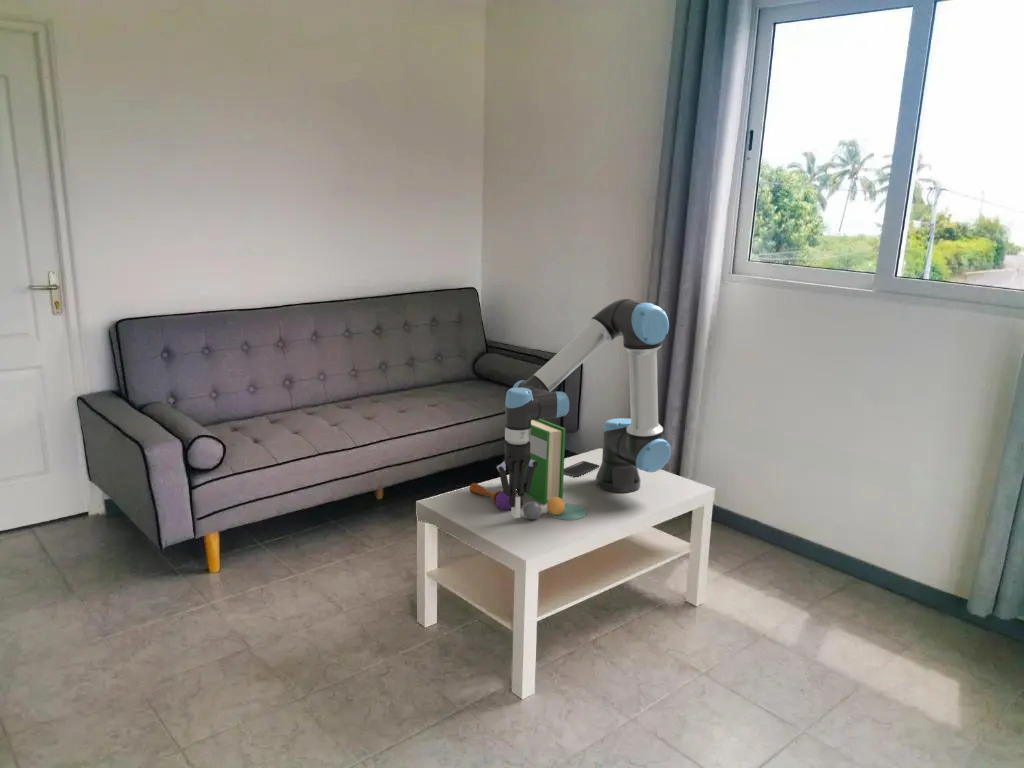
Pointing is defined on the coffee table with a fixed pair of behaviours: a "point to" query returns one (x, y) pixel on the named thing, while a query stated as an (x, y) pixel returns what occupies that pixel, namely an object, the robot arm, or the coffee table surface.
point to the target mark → (571, 512)
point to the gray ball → (532, 510)
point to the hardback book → (546, 460)
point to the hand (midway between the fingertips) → (515, 515)
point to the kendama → (498, 497)
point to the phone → (580, 469)
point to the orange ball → (555, 505)
